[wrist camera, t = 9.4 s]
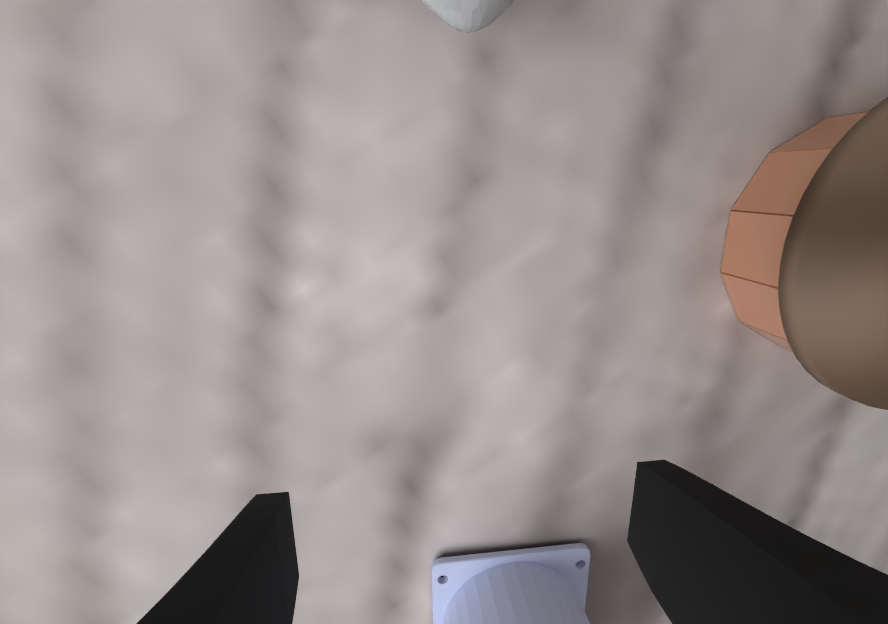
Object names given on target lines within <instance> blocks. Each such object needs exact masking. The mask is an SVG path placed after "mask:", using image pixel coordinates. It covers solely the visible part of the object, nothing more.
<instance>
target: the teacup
mask: <svg viewBox="0 0 888 624" xmlns="http://www.w3.org/2000/svg"><path fill="white" fill-rule="evenodd" d="M422 1H423V2H424V3H425V4H426V5H427V6H428V7H429V8H430V9H431V10H432V11H433V12H434V13H435V14H436V15H437V16H438V17H439V18H440V19H442V20H443V21H444V22H446V23H447V24H448V25H450V26H451V27H453V28H455V29H457V30H459V31H461V32H467V33H469V32H475V31H478V30H480V29H482V28H485V27H487V26H488V25H489V24H491V23H492V22H494V21H495V20H496V19H497V18H498V17H499V16H500V15H501V14H502V13H503V12H504V11H505V10H506V9H507V8H508V7H509V6H510V5H511V3H512V1H513V0H422Z"/></svg>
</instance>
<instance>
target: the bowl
mask: <svg viewBox="0 0 888 624" xmlns="http://www.w3.org/2000/svg"><path fill="white" fill-rule="evenodd" d="M866 113H867V112H863V113H856V114H849V115H842V116H835V117H828V118H826V119H824V120H822V121H821V122H819V123H817V124H816V125H814V126H812V127H811V128H809V129H807V130H806V131H804V132H802V133H801V134H799V135H797V136H796V137H794V138H792V139H791V140H789V141H787V142H786V143H784V144H782V145H781V146H779V147H777V148H776V149H774V150H772V151H771V153H769V154H768V156H767V157H766V158H765V160H764V161H763V163H762V164H761V166H760V167H759V169H758V170H757V172H756V173H755V175H754V176H753V178H752V179H751V181H750V182H749V184H748V185H747V187H746V188H745V189H744V191H743V192H742V194H741V195H740V197H739V198H738V200H737V201H736V203H735V204H734V206H733V207H732V209H731V210H733V211H730V216H729V222H728V228H727V234H726V240H725V246H724V252H723V258H722V265H721V271H720V272H722V273H721V276H722V278H723V281H724V284H725V286H726V289H727V291H728V294H729V297H730V299H731V302H732V305H733V307H734V310H735V312H736V315H737V318H738V320H739V321H740V322H741V323H742V324H744V325H746V326H747V327H749V328H750V329H752V330H754V331H755V332H757V333H759V334H760V335H762V336H763V337H765V338H767V339H768V340H770V341H771V342H773V343H775V344H776V345H778V346H780V347H782V348H785V349H787V350H789V351H792V349H791V347H790V345H789V343H788V340H787V337H786V335H785V332H784V329H783V326H782V320H781V315H780V310H779V295H778V282H779V270H780V262H781V257H782V252H783V247H784V242H785V239H786V236H787V233H788V230H789V227H790V223H791V220H792V218H793V215H794V213H795V211H796V209H797V206H798V204H799V202H800V200H801V197H802V195H803V193H804V192H805V190H806V188H807V186H808V185H809V183H810V181H811V179H812V178H813V176H814V174H815V172H816V171H817V170H818V168H819V167H820V165H821V164H822V162H823V161H824V160H825V158H826V157H827V155H828V154H829V153H830V151H831V150H832V149H833V148H834V147H835V145H836V144H837V143H838V142H839V141H840V140H841V138H842V137H843V136H844V135H845V134H846V133H847V131H848V130H849V129H851V128H852V127H853V126H854V125H855V124H856V123H857V122H858V121H859V120H860V119H861V118H862V117H863V116H864V115H865V114H866ZM792 352H793V351H792Z"/></svg>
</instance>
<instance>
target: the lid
mask: <svg viewBox="0 0 888 624" xmlns="http://www.w3.org/2000/svg"><path fill="white" fill-rule="evenodd" d="M778 295H779V310H780V315H781V320H782V326H783V329H784V332H785V335H786V337H787V340H788V343H789V345H790V347H791V349H792V351H793V352H794V354H795V356H796V358H797V359H798V361H799V362H800V363H801V364H802V366H803V367H804V368H805V370H806V371H807V372H808V373H809V374H810V375H812V376H813V377H814V378H815V379H816V380H817V381H818V382H820V383H821V384H823V385H825V386H826V387H828V388H830V389H831V390H833V391H835V392H837V393H839V394H841V395H844V396H846V397H848V398H850V399H852V400H854V401H857V402H860V403H862V404H865V405H867V406H871V407H876V408H880V409H886V410H888V97H887V98H886V99H885V100H883V101H882V102H881V103H879V104H878V105H877V106H875V107H874V108H873V109H871V110H870V111H869V112H867V113H866V114H865V115H864V116H863V117H862V118H861V119H860V120H859V121H858V122H857V123H856V124H855V125H854V126H853V127H852V128H851V129H849V130H848V131H847V133H846V134H845V135H844V136H843V137H842V138H841V140H840V141H839V142H838V143H837V144H836V145H835V147H834V148H833V149H832V150H831V151H830V153H829V154H828V155H827V157H826V158H825V160H824V161H823V162H822V164H821V165H820V167H819V168H818V170H817V171H816V172H815V174H814V176H813V178H812V179H811V181H810V183H809V185H808V186H807V188H806V190H805V192H804V193H803V195H802V197H801V200H800V202H799V204H798V206H797V209H796V211H795V213H794V215H793V218H792V220H791V223H790V227H789V230H788V233H787V236H786V239H785V242H784V247H783V252H782V257H781V262H780V270H779V282H778Z"/></svg>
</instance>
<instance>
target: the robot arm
mask: <svg viewBox="0 0 888 624" xmlns="http://www.w3.org/2000/svg"><path fill="white" fill-rule="evenodd" d="M627 541H628V544H629V546H630V548H631V550H632V552H633V554H634V556H635V558H636V561H637V563H638V565H639V567H640V569H641V571H642V573H643V575H644V577H645V579H646V581H647V583H648V585H649V587H650V589H651V591H652V592H653V594H654V595H655V597H656V599H657V600H658V602H659V603H660V605H661V607H662V608H663V610H664V611H665V613H666V615H667V616H668V618H669V619H670V621H671V622H672V624H888V575H887V574H884V573H882V572H880V571H878V570H876V569H874V568H872V567H869V566H867V565H865V564H863V563H861V562H859V561H857V560H855V559H853V558H851V557H849V556H847V555H845V554H843V553H841V552H839V551H837V550H835V549H833V548H831V547H829V546H827V545H825V544H823V543H821V542H819V541H817V540H815V539H813V538H811V537H809V536H807V535H805V534H803V533H801V532H799V531H797V530H795V529H793V528H791V527H789V526H788V525H786V524H784V523H782V522H780V521H778V520H776V519H774V518H773V517H771V516H769V515H767V514H765V513H763V512H762V511H760V510H758V509H756V508H754V507H752V506H751V505H749V504H747V503H745V502H743V501H741V500H740V499H738V498H736V497H734V496H732V495H731V494H729V493H727V492H725V491H723V490H721V489H720V488H718V487H716V486H714V485H712V484H711V483H709V482H707V481H705V480H703V479H701V478H700V477H698V476H696V475H694V474H692V473H690V472H688V471H686V470H684V469H683V468H681V467H679V466H677V465H675V464H672V463H670V462H668V461H666V460H657V461H645V462H637V470H636V478H635V486H634V493H633V501H632V509H631V517H630V524H629V532H628V540H627ZM580 560H581V561H580ZM578 561H580V562H578ZM589 565H590V551H589V549H588V547H587V546H586V545H585V544H583V543H575V544H565V545H556V546H546V547H537V548H527V549H518V550H508V551H499V552H489V553H480V554H470V555H461V556H451V557H442V558H438V559H436V560H435V561H434V562H433V563H432V608H433V624H590V622H589V620H588V617H587V615H586V613H585V604H586V594H587V584H588V575H589ZM442 575H444V576H445V577H440V576H442ZM298 580H299V572H298V564H297V555H296V547H295V539H294V531H293V523H292V515H291V507H290V499H289V492H281V493H270V494H258V495H255V497H254V498H253V499H252V500H251V501H250V502H249V503H248V504H247V505H246V506H245V507H244V508H243V510H242V511H241V512H240V513H239V514H238V515H237V516H236V517H235V519H234V520H233V521H232V522H231V523H230V524H229V525H228V527H227V528H226V529H225V530H224V531H223V532H222V533H221V535H220V536H219V537H218V538H217V539H216V540H215V541H214V542H213V544H212V545H211V546H210V547H209V548H208V549H207V550H206V551H205V553H204V554H203V555H202V556H201V557H200V558H199V559H198V560H197V561H196V562H195V563H194V564H193V566H192V567H191V568H190V569H189V570H188V571H187V572H186V573H185V574H184V575H183V576H182V577H181V579H180V580H179V581H178V582H177V583H176V584H175V585H174V586H173V587H172V588H171V589H170V590H169V591H168V592H167V593H166V594H165V596H164V597H163V598H162V599H161V600H160V601H159V602H158V603H157V604H156V605H155V606H154V607H153V608H152V609H151V610H150V611H149V612H148V613H147V614H146V615H145V616H144V617H143V618H142V619H141V620H140V621H139V622H138V623H137V624H292V621H293V614H294V608H295V601H296V594H297V587H298Z"/></svg>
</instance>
